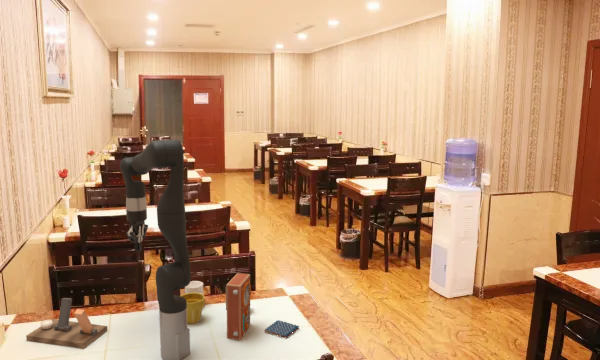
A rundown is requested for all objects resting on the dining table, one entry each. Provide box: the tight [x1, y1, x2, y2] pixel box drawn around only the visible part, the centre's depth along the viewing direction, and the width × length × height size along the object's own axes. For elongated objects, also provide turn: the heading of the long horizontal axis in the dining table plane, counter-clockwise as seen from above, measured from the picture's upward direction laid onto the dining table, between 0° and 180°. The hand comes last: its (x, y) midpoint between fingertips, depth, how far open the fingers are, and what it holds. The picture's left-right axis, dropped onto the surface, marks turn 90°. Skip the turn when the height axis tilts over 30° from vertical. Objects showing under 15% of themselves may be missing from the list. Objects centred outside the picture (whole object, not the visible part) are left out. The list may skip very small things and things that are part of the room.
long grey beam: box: [58, 297, 73, 330], centre depth 186 cm, size 3×2×12 cm, turn 77°
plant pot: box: [180, 293, 206, 325], centre depth 199 cm, size 10×10×10 cm
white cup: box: [184, 280, 204, 295], centre depth 212 cm, size 8×8×10 cm
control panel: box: [225, 272, 252, 341], centre depth 189 cm, size 21×7×15 cm
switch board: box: [25, 318, 108, 350], centre depth 185 cm, size 24×14×4 cm, turn 77°
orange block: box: [73, 308, 94, 334], centre depth 180 cm, size 3×2×12 cm, turn 77°
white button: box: [40, 319, 53, 329], centre depth 187 cm, size 4×4×2 cm
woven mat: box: [263, 319, 300, 339], centre depth 192 cm, size 10×11×2 cm
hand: (138, 251), depth 195 cm, fingers closed
